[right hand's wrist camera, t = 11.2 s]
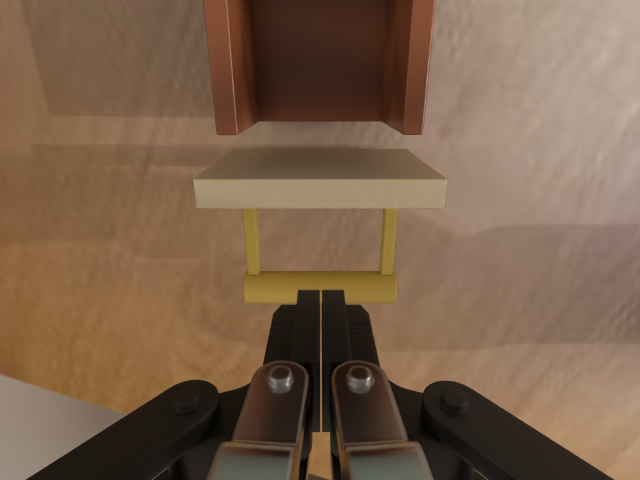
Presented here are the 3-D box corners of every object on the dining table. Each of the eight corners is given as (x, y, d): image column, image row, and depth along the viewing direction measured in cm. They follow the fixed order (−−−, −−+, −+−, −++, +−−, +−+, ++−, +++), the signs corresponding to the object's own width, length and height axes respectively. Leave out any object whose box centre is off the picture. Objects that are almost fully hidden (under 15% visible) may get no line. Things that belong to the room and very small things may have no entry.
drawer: (397, 266, 24) (427, 338, 17) (243, 266, 24) (212, 338, 17) (437, -222, 16) (527, -457, 9) (202, -221, 16) (111, -456, 9)
